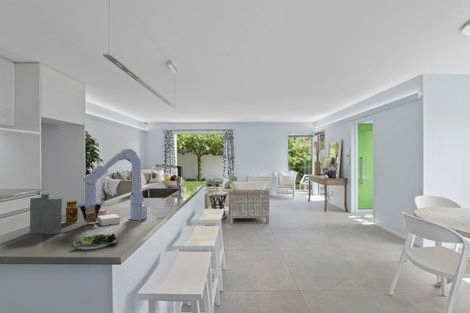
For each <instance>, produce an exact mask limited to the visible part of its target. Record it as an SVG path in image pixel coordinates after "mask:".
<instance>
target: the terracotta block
mask: <svg viewBox="0 0 470 313" xmlns="http://www.w3.org/2000/svg"><path fill="white" fill-rule="evenodd" d="M102 215H107V208H105V209H101V208H100V210H99V212H98V215H97V219H96V220H98V216H102Z"/></svg>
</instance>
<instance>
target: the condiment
mask: <svg viewBox="0 0 470 313" xmlns="http://www.w3.org/2000/svg"><path fill="white" fill-rule="evenodd" d="M76 204H78V201H76V200H75V201H74V200H73V201H72V200H70V201H67V202H66V207H65V208H66V209H65V220H64V221H62V224H76V223H78V222H81V221H82V220H79V207H78V208H76Z"/></svg>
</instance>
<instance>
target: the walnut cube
mask: <svg viewBox="0 0 470 313" xmlns="http://www.w3.org/2000/svg"><path fill="white" fill-rule="evenodd" d="M84 222H85V223H86V224H89V223H90V224H91V223H96V222H97V219H96V212H95V211H86V220H84Z"/></svg>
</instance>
